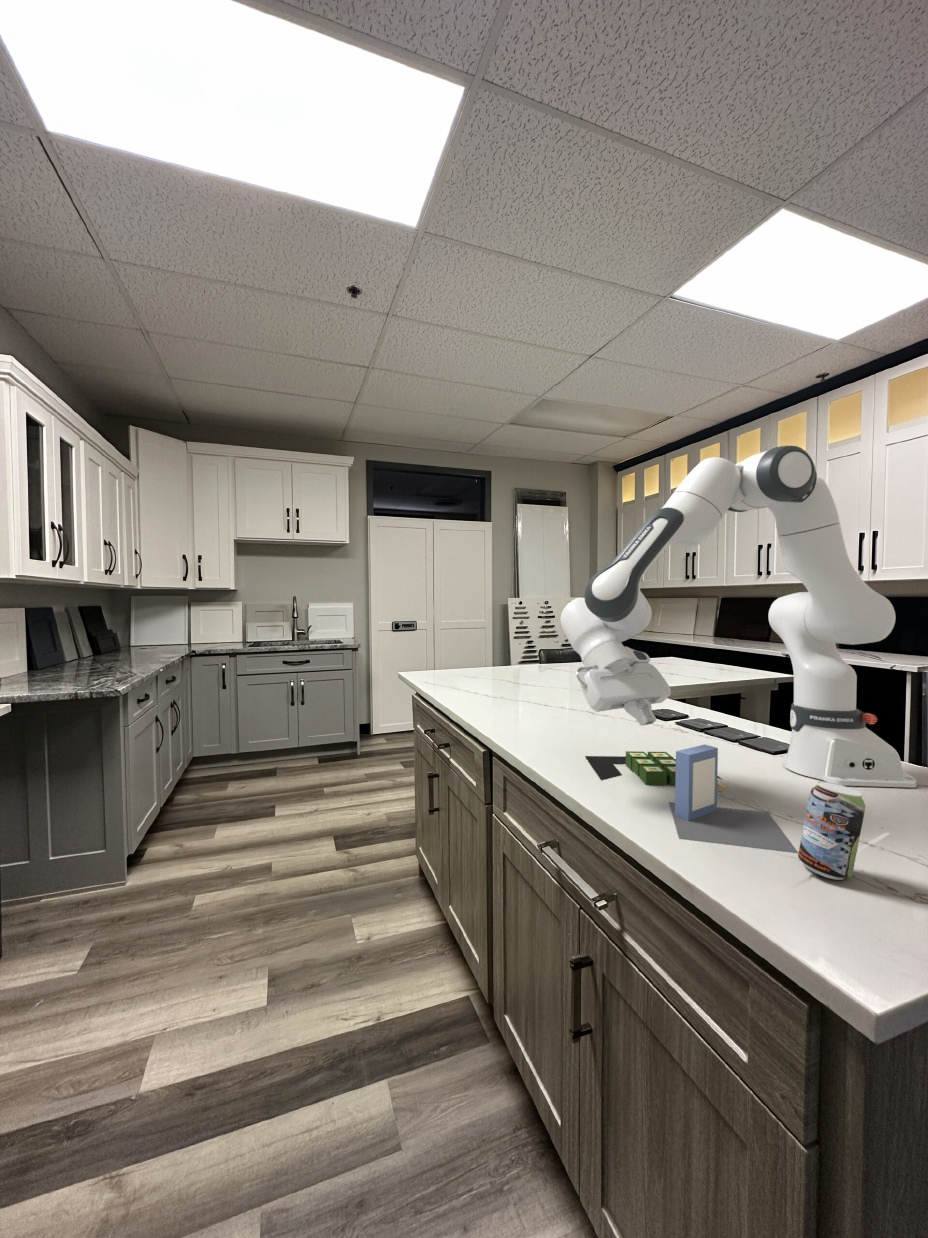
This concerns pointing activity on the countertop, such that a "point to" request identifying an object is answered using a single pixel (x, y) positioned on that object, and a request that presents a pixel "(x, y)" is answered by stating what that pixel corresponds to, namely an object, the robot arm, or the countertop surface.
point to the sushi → (639, 767)
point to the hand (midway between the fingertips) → (649, 723)
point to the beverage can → (832, 830)
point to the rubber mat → (734, 829)
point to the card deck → (696, 782)
